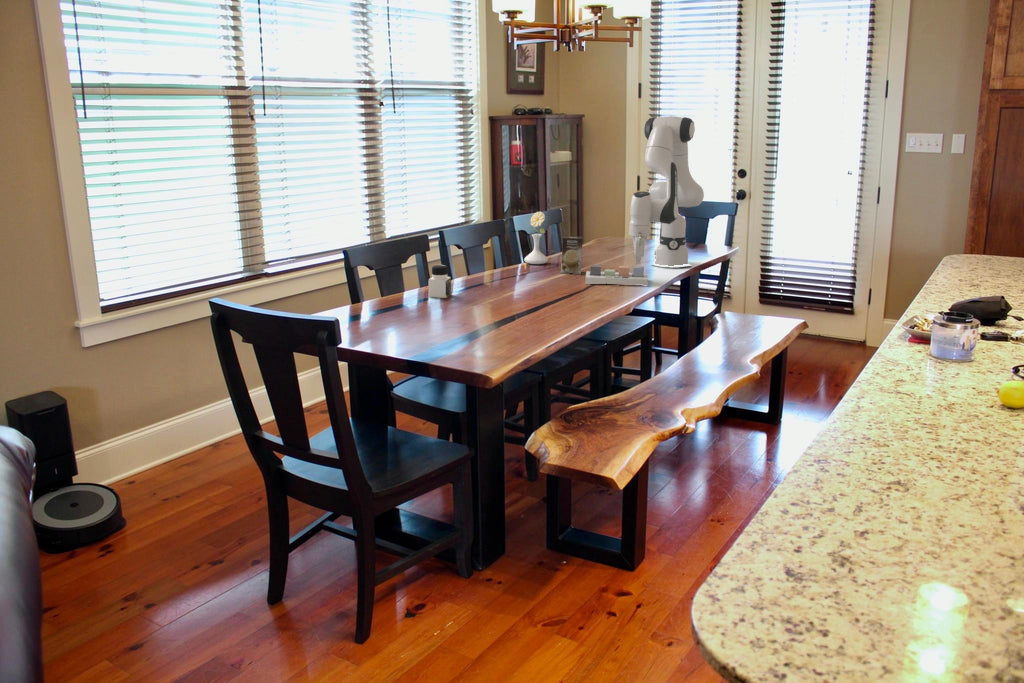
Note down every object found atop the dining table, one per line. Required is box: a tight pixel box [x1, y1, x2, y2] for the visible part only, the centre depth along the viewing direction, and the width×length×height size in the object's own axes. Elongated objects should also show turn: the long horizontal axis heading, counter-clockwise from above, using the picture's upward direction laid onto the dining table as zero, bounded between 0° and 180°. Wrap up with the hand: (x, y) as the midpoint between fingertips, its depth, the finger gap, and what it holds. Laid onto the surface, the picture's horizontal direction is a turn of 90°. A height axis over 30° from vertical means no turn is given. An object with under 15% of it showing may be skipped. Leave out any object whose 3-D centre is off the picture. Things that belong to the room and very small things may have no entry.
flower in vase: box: [523, 211, 549, 265], centre depth 403 cm, size 13×11×25 cm
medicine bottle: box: [428, 264, 452, 299], centre depth 335 cm, size 7×7×12 cm
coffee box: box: [560, 235, 583, 275], centre depth 384 cm, size 9×6×16 cm
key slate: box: [632, 265, 645, 277], centre depth 365 cm, size 4×4×4 cm
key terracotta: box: [618, 265, 630, 277], centre depth 365 cm, size 4×4×4 cm
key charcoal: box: [589, 264, 602, 276], centre depth 367 cm, size 4×4×4 cm
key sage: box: [603, 268, 616, 276], centre depth 367 cm, size 4×4×4 cm
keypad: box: [584, 270, 649, 286], centre depth 366 cm, size 14×26×3 cm, turn 84°
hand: (637, 263), depth 364 cm, fingers closed
